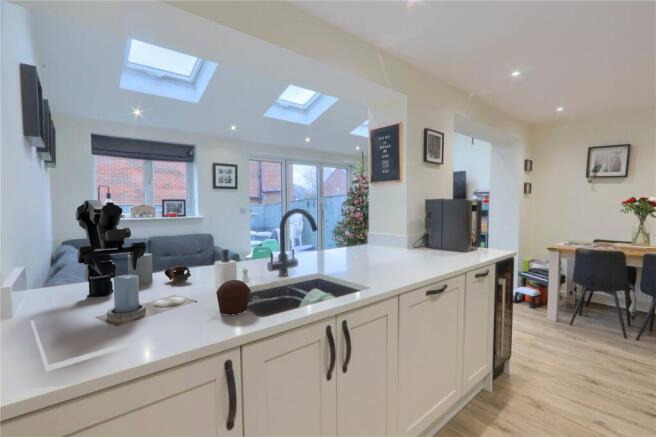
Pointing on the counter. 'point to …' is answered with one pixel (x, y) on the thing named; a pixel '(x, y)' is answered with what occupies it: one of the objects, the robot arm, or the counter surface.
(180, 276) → the pottery mug
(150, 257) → the tall grey pillar block
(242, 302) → the muffin
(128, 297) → the pale blue cylinder
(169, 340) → the counter surface
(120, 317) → the tan flat slab
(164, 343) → the counter surface
